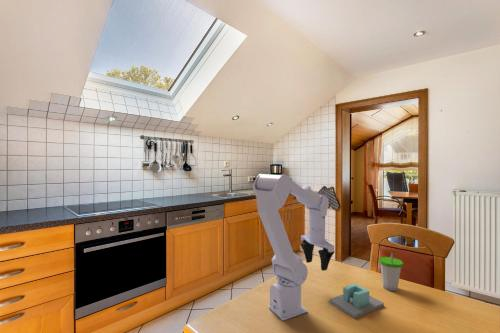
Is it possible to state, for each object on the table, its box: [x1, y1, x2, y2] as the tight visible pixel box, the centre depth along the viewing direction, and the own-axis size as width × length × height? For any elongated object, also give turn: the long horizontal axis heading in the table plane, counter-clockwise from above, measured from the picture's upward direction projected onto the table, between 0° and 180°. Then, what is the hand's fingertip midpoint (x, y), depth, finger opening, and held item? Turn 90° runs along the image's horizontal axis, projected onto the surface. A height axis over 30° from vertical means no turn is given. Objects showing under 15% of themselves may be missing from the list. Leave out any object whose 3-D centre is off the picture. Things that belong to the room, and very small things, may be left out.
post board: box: [328, 292, 385, 320], centre depth 82 cm, size 14×10×4 cm
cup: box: [378, 251, 404, 292], centre depth 93 cm, size 8×8×15 cm
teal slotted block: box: [342, 283, 370, 308], centre depth 82 cm, size 6×6×4 cm
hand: (316, 265), depth 90 cm, fingers open, 7 cm apart
